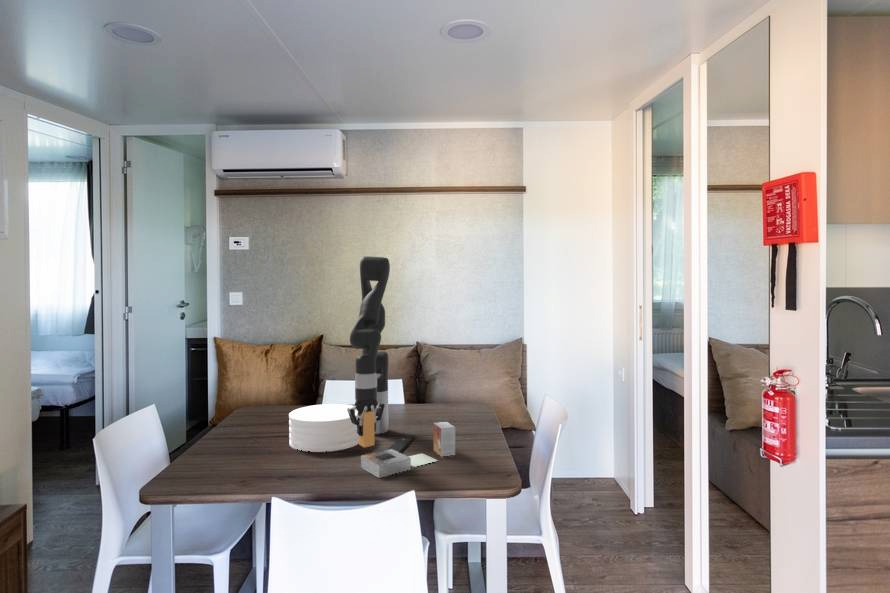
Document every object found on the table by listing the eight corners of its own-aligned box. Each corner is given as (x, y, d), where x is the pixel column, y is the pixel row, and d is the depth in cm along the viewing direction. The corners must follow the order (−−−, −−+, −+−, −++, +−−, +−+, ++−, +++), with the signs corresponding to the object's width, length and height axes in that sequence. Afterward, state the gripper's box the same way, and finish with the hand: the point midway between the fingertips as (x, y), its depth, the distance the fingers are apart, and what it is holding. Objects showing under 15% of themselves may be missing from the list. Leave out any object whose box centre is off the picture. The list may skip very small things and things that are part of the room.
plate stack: (346, 454, 196) (346, 422, 195) (275, 450, 201) (275, 419, 201) (372, 433, 223) (371, 405, 223) (309, 429, 229) (308, 402, 228)
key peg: (358, 444, 189) (358, 410, 188) (369, 442, 191) (368, 408, 191) (364, 447, 186) (363, 413, 185) (374, 445, 188) (374, 411, 187)
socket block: (361, 467, 181) (360, 455, 181) (391, 460, 188) (391, 448, 188) (378, 477, 172) (378, 465, 171) (410, 469, 179) (410, 457, 179)
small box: (433, 451, 198) (433, 422, 198) (447, 449, 200) (447, 421, 200) (440, 457, 191) (440, 428, 191) (455, 455, 193) (455, 426, 193)
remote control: (415, 438, 216) (415, 435, 216) (397, 458, 192) (397, 454, 192) (403, 438, 217) (403, 434, 217) (383, 457, 193) (383, 453, 193)
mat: (398, 459, 189) (398, 458, 189) (422, 454, 195) (422, 453, 195) (414, 467, 181) (414, 466, 181) (438, 461, 187) (438, 460, 187)
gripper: (378, 381, 195) (379, 428, 195) (342, 386, 186) (343, 435, 187) (389, 384, 189) (389, 433, 189) (352, 390, 180) (352, 441, 181)
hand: (366, 434), depth 188 cm, fingers closed on key peg, 4 cm apart
